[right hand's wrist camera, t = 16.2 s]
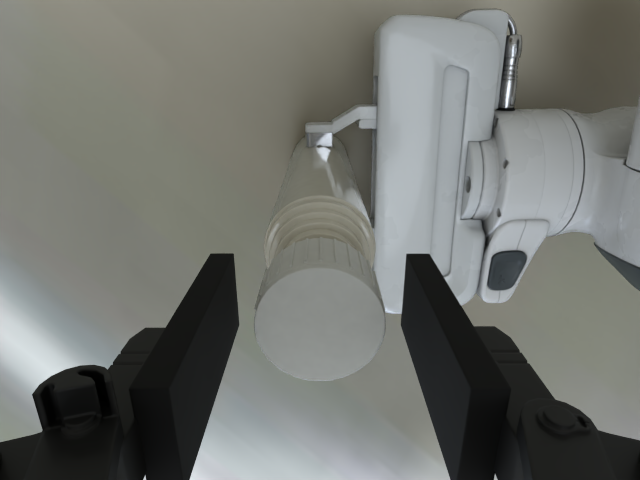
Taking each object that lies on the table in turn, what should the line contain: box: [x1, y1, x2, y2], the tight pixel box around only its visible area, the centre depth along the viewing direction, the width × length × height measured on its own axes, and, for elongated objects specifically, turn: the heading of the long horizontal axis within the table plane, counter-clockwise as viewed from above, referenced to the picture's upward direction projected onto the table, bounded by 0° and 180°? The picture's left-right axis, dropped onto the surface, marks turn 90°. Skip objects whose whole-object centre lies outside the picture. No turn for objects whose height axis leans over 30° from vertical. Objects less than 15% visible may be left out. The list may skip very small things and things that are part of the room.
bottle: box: [264, 135, 376, 269], centre depth 25 cm, size 5×5×25 cm
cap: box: [254, 237, 386, 381], centre depth 14 cm, size 4×4×2 cm
